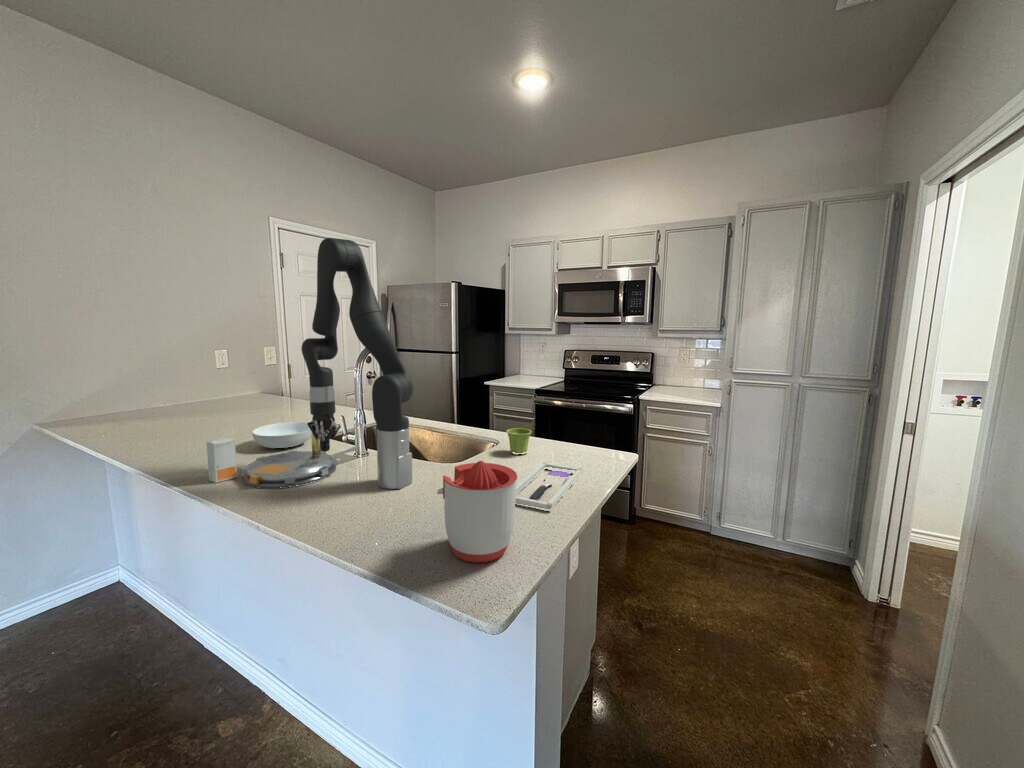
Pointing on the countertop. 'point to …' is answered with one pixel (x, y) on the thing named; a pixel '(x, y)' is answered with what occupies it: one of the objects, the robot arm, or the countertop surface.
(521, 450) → the plant pot
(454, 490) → the citrus juicer
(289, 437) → the serving bowl
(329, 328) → the robot arm
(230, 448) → the skincare box
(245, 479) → the plate
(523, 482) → the utensil tray
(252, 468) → the sprocket
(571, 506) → the countertop surface
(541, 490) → the spatula
